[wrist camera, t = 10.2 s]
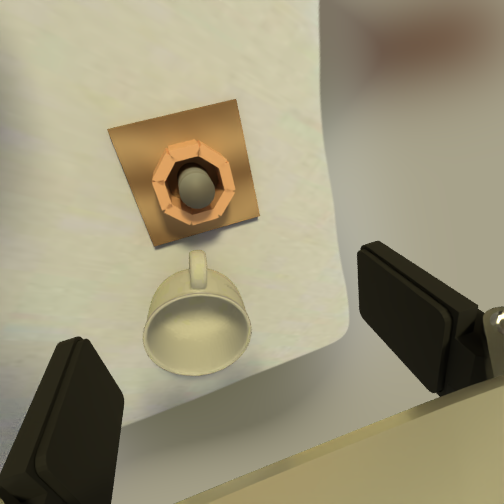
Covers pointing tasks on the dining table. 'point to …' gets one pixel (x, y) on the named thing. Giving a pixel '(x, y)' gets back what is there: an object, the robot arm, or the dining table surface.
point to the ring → (176, 205)
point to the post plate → (176, 131)
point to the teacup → (196, 321)
